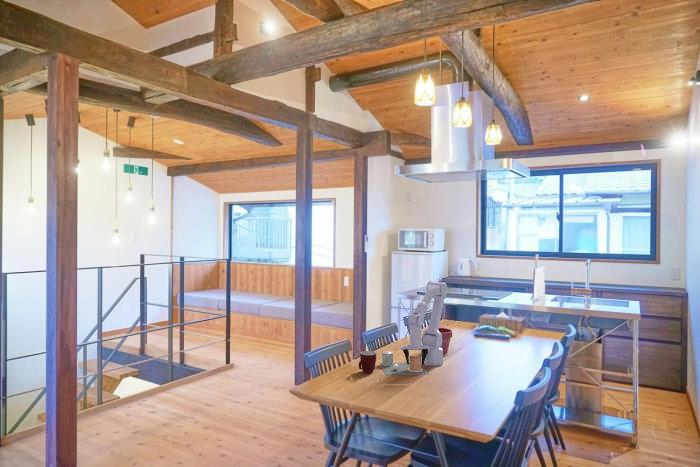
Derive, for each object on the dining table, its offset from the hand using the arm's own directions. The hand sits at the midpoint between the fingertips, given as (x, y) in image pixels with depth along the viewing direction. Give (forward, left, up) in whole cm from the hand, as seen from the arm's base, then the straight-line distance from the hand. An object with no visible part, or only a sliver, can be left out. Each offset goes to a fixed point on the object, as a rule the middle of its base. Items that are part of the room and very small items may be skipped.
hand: (415, 364), depth 229 cm
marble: (+10, 0, -1) cm, 10 cm away
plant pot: (-22, -36, -4) cm, 42 cm away
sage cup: (+13, -9, -3) cm, 16 cm away
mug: (+25, +3, -4) cm, 25 cm away
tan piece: (0, 0, -2) cm, 2 cm away
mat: (+6, -2, -3) cm, 7 cm away
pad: (0, 0, -3) cm, 3 cm away
